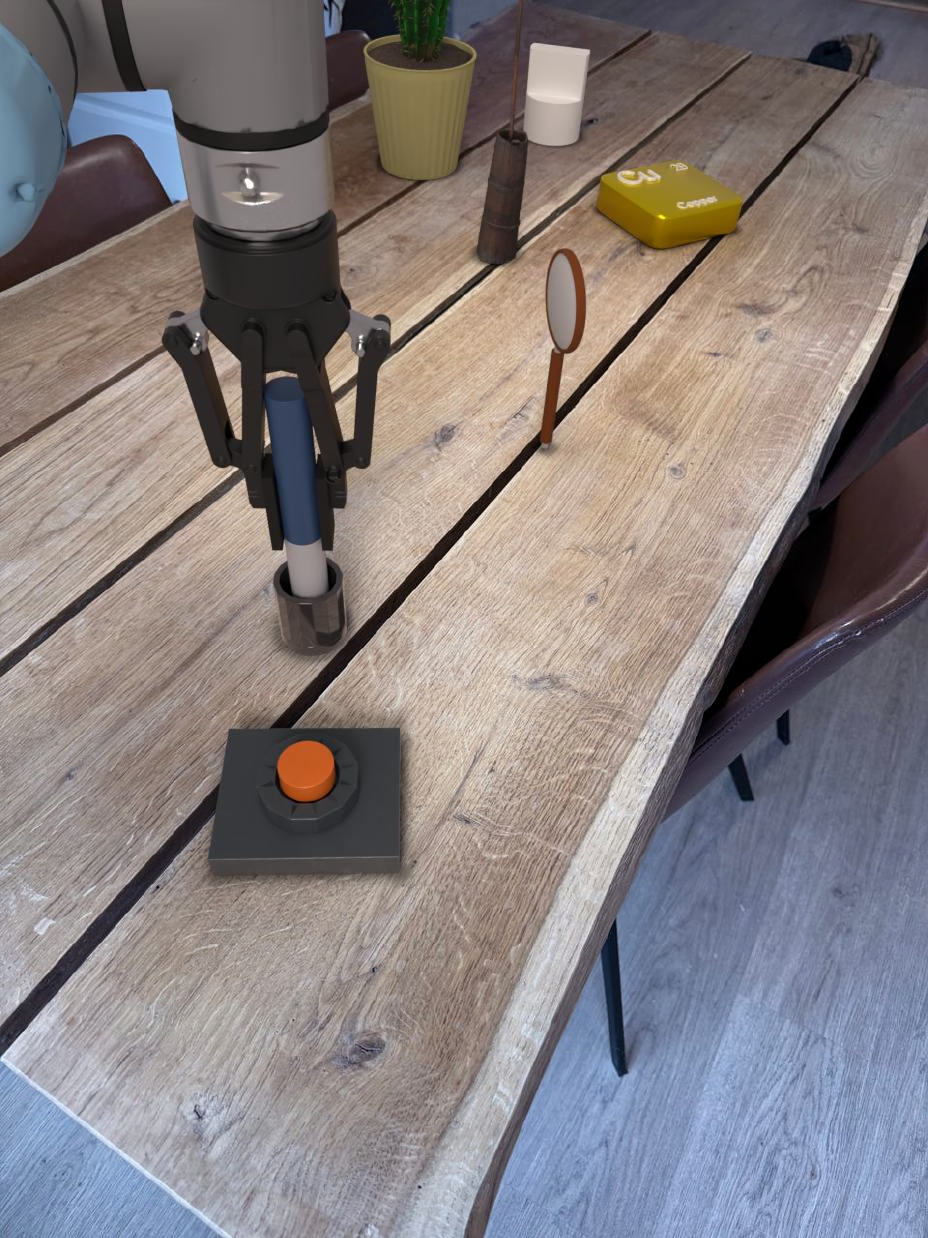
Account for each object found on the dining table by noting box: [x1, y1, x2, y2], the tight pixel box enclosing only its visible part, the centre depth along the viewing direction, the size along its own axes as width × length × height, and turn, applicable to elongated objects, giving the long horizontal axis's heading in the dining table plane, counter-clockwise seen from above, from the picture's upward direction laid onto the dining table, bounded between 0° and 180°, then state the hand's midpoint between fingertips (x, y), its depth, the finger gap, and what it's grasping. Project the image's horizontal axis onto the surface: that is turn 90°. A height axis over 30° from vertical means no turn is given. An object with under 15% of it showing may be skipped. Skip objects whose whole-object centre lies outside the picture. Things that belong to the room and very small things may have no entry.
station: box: [207, 727, 402, 877], centre depth 61 cm, size 12×10×4 cm
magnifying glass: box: [539, 247, 587, 450], centre depth 82 cm, size 9×2×20 cm, turn 13°
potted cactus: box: [363, 0, 477, 181], centre depth 123 cm, size 15×15×30 cm
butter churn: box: [476, 0, 530, 265], centre depth 105 cm, size 9×10×28 cm
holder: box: [272, 556, 348, 656], centre depth 70 cm, size 5×5×6 cm
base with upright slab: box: [522, 42, 591, 147], centre depth 140 cm, size 9×9×12 cm
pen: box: [263, 375, 329, 599], centre depth 62 cm, size 3×3×18 cm
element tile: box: [596, 159, 744, 250], centre depth 124 cm, size 15×15×5 cm
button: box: [277, 741, 336, 802], centre depth 59 cm, size 4×4×2 cm
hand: (303, 537), depth 65 cm, fingers closed on pen, 3 cm apart
